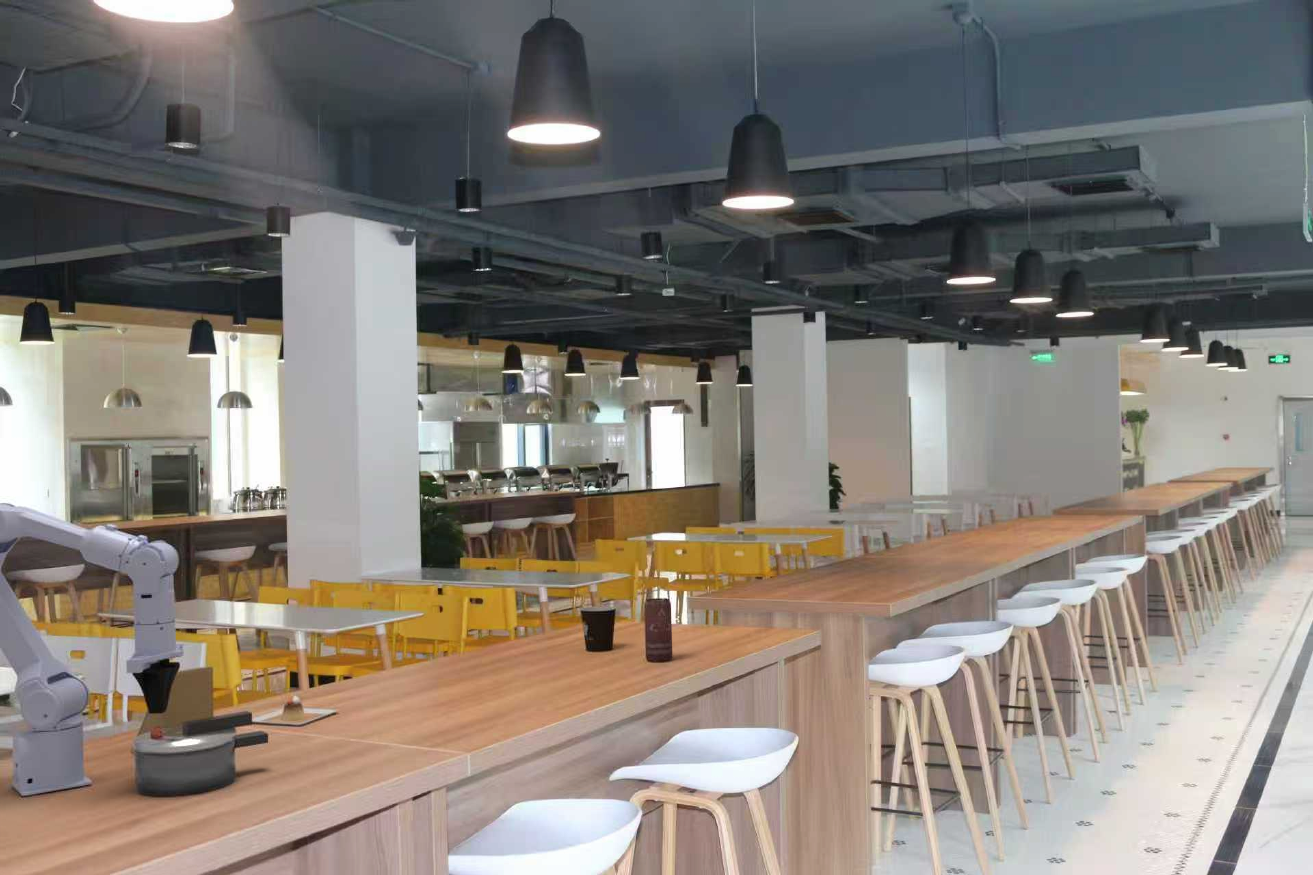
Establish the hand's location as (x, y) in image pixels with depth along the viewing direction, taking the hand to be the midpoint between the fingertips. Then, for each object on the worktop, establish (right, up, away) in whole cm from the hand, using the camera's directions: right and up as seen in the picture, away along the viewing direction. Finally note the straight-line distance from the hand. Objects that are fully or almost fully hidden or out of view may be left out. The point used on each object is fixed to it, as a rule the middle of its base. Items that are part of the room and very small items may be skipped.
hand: (157, 712), depth 182 cm
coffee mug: (+61, -11, +114) cm, 130 cm away
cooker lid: (+6, -4, 0) cm, 7 cm away
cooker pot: (+7, -10, 0) cm, 12 cm away
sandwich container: (-5, -11, +17) cm, 21 cm away
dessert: (+8, -12, +43) cm, 45 cm away
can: (+76, -10, +95) cm, 122 cm away
